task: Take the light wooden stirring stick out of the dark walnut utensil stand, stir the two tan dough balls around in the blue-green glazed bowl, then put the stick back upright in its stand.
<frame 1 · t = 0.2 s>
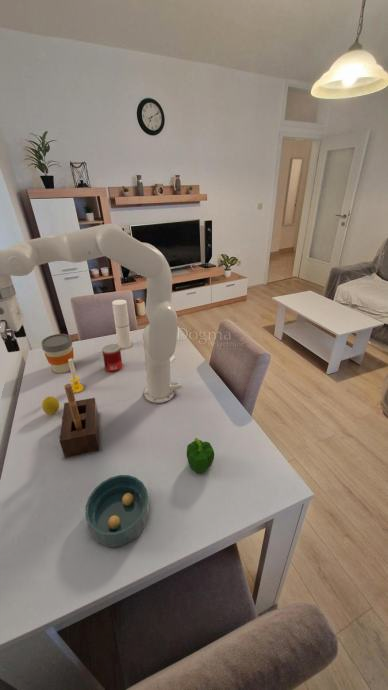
hand: (17, 343, 88), 31 cm above the table, tool pointing down, fingers open, 9 cm apart
canned food: (114, 368, 132), on the table
dough ball 2: (113, 522, 69), point 2 cm above the table, touching bowl
reusable coffee cup: (63, 367, 132), on the table
stand: (83, 434, 96), on the table
bowl: (120, 515, 73), on the table
bell pepper: (199, 466, 86), on the table
dough ball: (127, 499, 74), point 2 cm above the table, touching bowl
stirring stick: (82, 442, 93), resting in stand
cylindrical container: (124, 345, 151), on the table
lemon: (53, 413, 105), on the table
candle: (77, 389, 118), on the table
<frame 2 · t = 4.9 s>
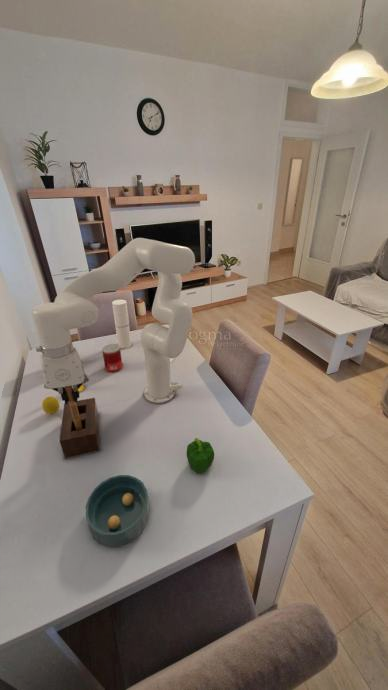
hand: (71, 400, 84), 19 cm above the table, tool pointing down, fingers closed on stirring stick, 2 cm apart
stirring stick: (82, 442, 93), resting in stand, touching gripper
everything else where it was.
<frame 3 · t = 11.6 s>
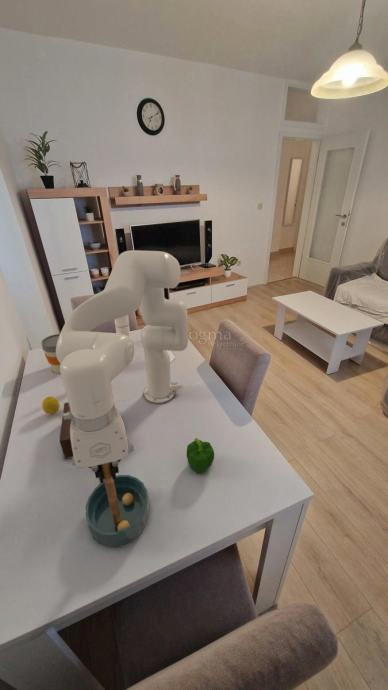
hand: (108, 475, 60), 20 cm above the table, tool pointing down, fingers closed on stirring stick, 2 cm apart
dough ball 2: (123, 527, 68), point 2 cm above the table, tilted 111°, touching bowl, stirring stick
stirring stick: (117, 521, 70), point 2 cm above the table, touching dough ball 2, gripper
everything else where it was.
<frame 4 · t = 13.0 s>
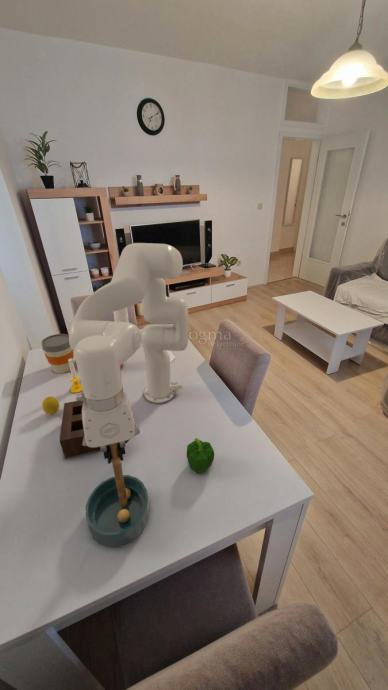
hand: (115, 456, 64), 20 cm above the table, tool pointing down, fingers closed on stirring stick, 2 cm apart
dough ball 2: (123, 515, 71), point 2 cm above the table, tilted 17°, touching bowl
dough ball: (125, 494, 75), point 2 cm above the table, tilted 48°, touching bowl, stirring stick
stirring stick: (123, 503, 73), point 2 cm above the table, touching dough ball, gripper
everything else where it was.
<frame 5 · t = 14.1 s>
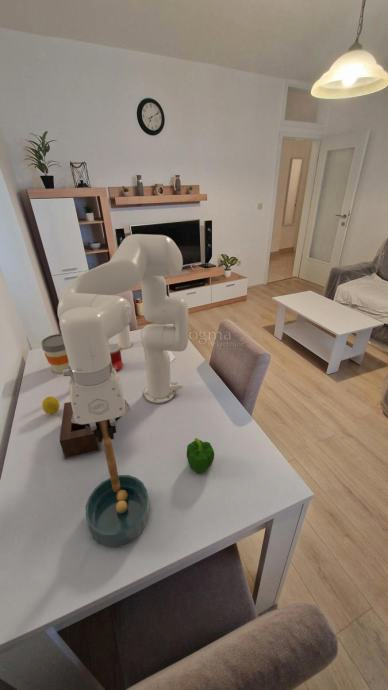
hand: (106, 435, 63), 26 cm above the table, tool pointing down, fingers closed on stirring stick
dough ball 2: (121, 506, 72), point 2 cm above the table, tilted 86°, touching bowl
dough ball: (122, 495, 75), point 2 cm above the table, tilted 75°, touching bowl
stirring stick: (116, 488, 71), point 7 cm above the table, touching gripper
everything else where it was.
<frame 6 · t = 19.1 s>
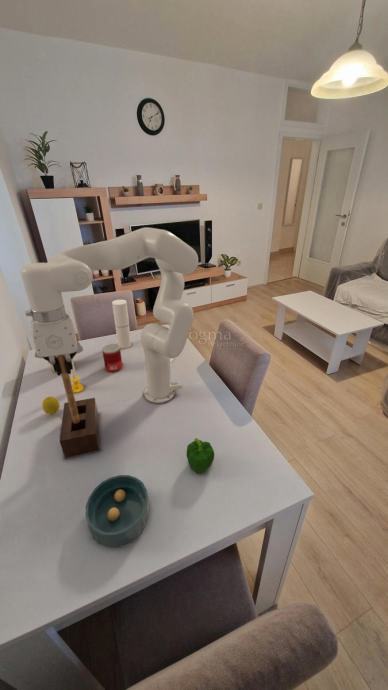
hand: (64, 371, 80), 29 cm above the table, tool pointing down, fingers closed on stirring stick
dough ball 2: (113, 514, 71), point 2 cm above the table, tilted 51°, touching bowl
dough ball: (119, 495, 75), point 2 cm above the table, tilted 66°, touching bowl
stirring stick: (76, 421, 88), point 10 cm above the table, touching gripper
everything else where it was.
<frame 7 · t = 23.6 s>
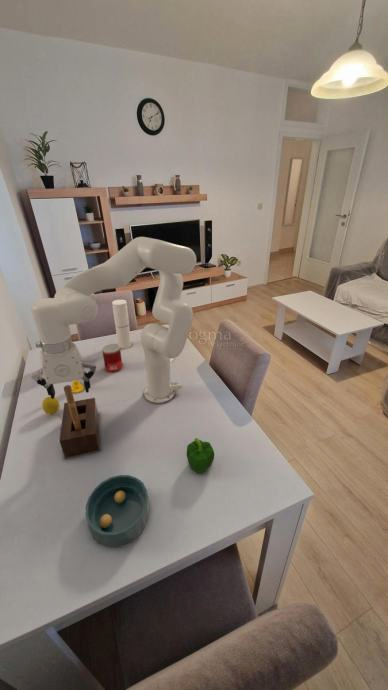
hand: (70, 392, 84), 21 cm above the table, tool pointing down, fingers open, 9 cm apart
dough ball 2: (105, 521, 69), point 2 cm above the table, tilted 96°, touching bowl
dough ball: (120, 496, 75), point 2 cm above the table, tilted 57°, touching bowl
stirring stick: (82, 443, 93), resting in stand
everything else where it was.
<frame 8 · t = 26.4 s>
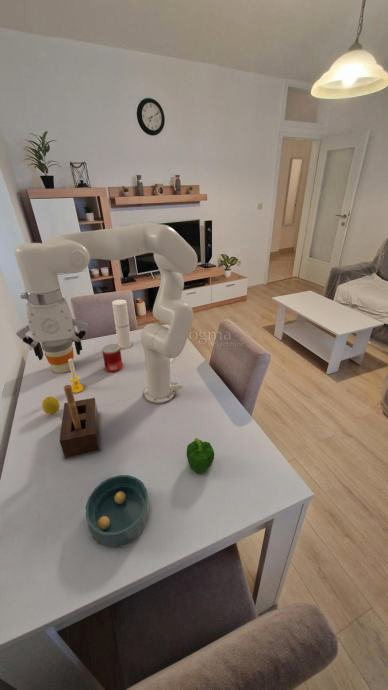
hand: (60, 354, 77), 34 cm above the table, tool pointing down, fingers open, 9 cm apart
dough ball 2: (103, 523, 69), point 2 cm above the table, tilted 110°, touching bowl
dough ball: (120, 497, 75), point 2 cm above the table, tilted 52°, touching bowl
everything else where it was.
at the end: dough ball moved 2.3 cm from its start; dough ball inside the target area in the bowl (3.6 cm from its centre), point 2.1 cm above the bowl's base; stirring stick 0.4 cm from the target spot in the stand, point 0.0 cm above the stand's base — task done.
